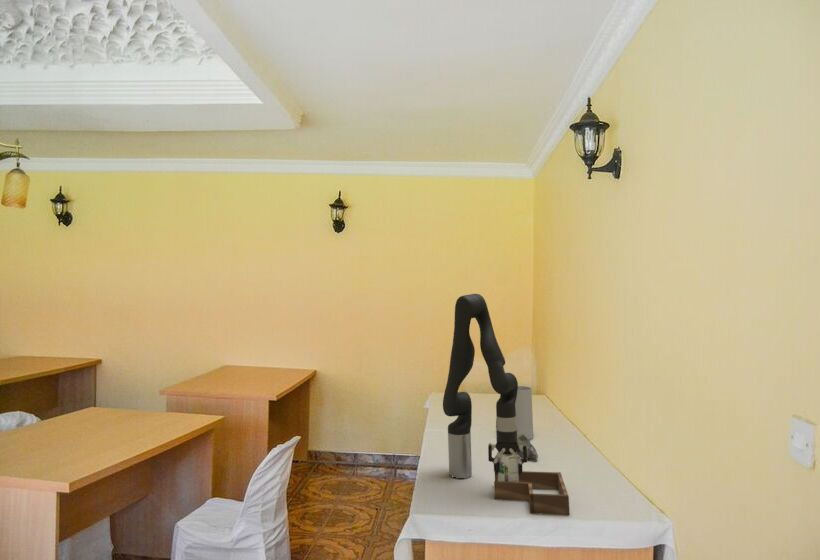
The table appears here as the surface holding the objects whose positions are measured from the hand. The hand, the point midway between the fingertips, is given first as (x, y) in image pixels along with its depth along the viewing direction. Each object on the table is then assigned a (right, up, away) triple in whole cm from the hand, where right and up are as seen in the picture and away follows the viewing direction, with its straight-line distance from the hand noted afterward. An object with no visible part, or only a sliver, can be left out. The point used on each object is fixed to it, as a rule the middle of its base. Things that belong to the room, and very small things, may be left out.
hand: (508, 473), depth 182 cm
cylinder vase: (+20, -9, +70) cm, 74 cm away
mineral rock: (+15, -9, +40) cm, 43 cm away
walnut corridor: (+6, -7, -6) cm, 11 cm away
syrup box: (0, -7, 0) cm, 7 cm away
